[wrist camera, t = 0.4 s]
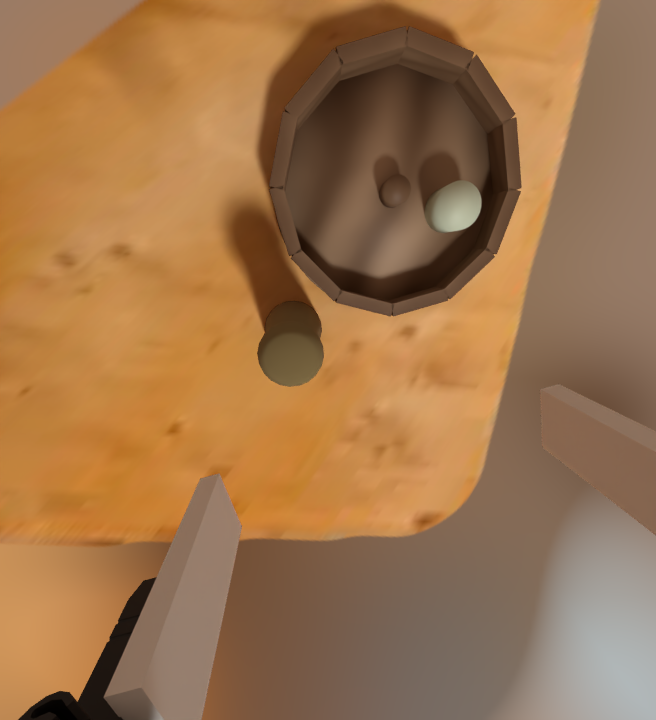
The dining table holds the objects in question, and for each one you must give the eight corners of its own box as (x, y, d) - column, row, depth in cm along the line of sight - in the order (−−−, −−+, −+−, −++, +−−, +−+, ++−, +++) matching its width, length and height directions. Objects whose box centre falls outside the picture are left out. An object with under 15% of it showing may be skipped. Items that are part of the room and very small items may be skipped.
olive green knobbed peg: (276, 292, 33) (264, 307, 23) (330, 313, 34) (343, 337, 24) (257, 345, 35) (238, 382, 24) (309, 363, 36) (313, 407, 25)
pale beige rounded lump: (418, 226, 31) (430, 223, 28) (432, 182, 30) (446, 174, 27) (456, 237, 32) (471, 235, 29) (471, 194, 31) (488, 188, 28)
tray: (253, 280, 33) (248, 282, 29) (304, 14, 27) (304, -20, 23) (451, 330, 36) (466, 337, 33) (535, 103, 30) (564, 85, 27)
